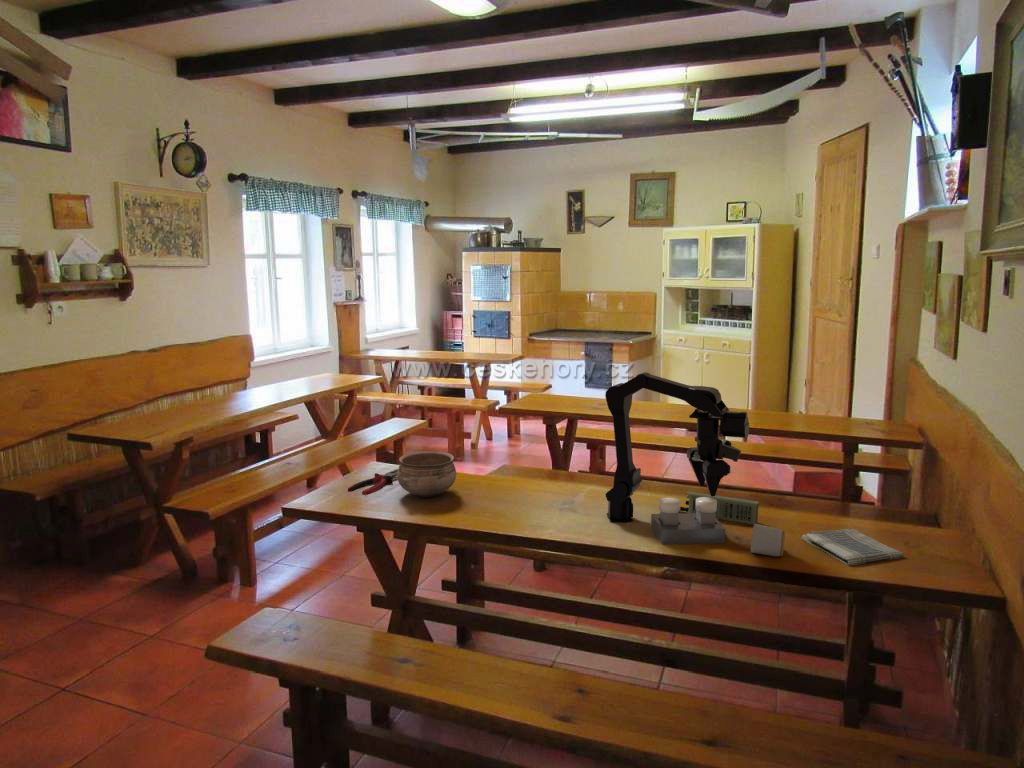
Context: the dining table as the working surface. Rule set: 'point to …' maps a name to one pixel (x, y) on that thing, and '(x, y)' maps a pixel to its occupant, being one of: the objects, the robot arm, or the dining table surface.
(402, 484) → the cooking pot
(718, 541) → the mount
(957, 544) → the dining table surface
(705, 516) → the knob
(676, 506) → the knob
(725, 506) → the handheld radio
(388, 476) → the pliers
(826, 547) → the dish towel
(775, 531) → the block
